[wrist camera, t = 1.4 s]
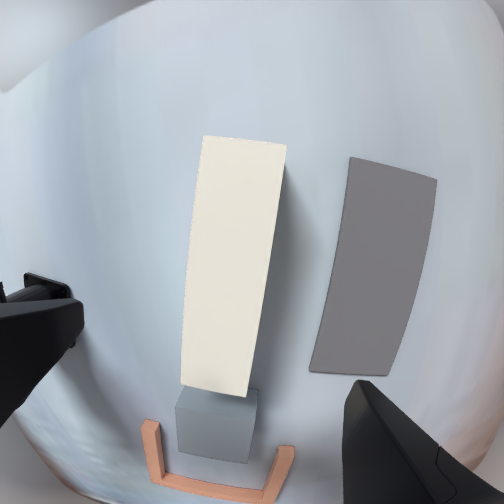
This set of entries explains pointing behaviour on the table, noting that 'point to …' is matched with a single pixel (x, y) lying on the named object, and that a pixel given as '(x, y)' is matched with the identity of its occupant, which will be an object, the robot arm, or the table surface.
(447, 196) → the table surface
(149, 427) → the frame
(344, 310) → the rest mat
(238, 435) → the grey square block
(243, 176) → the bar
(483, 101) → the table surface
